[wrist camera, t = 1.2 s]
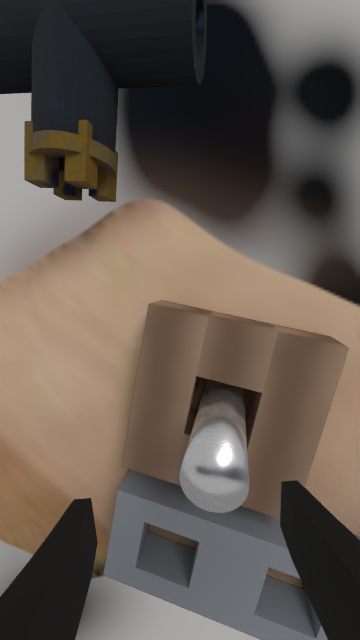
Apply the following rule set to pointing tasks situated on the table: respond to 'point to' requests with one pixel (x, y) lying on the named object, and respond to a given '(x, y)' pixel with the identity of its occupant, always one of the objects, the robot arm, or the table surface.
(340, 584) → the robot arm
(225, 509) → the steel peg
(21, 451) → the table surface
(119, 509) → the tool rack
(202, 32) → the pipe connector
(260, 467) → the socket block
